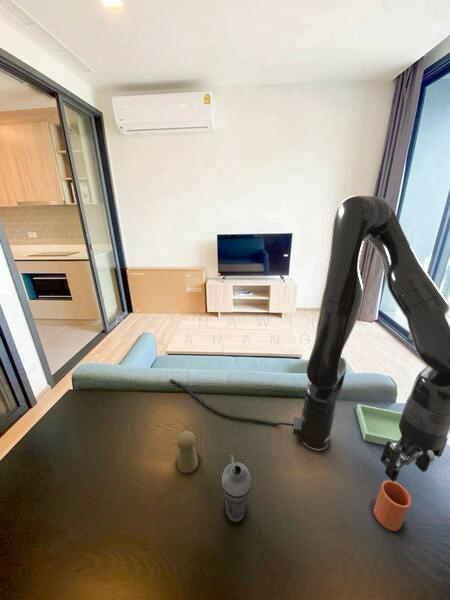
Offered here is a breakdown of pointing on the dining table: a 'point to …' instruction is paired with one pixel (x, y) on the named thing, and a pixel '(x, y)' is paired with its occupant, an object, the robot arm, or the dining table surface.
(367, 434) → the tray
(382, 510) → the terracotta cup
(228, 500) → the beverage cup
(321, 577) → the dining table surface
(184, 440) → the beige pawn figure
